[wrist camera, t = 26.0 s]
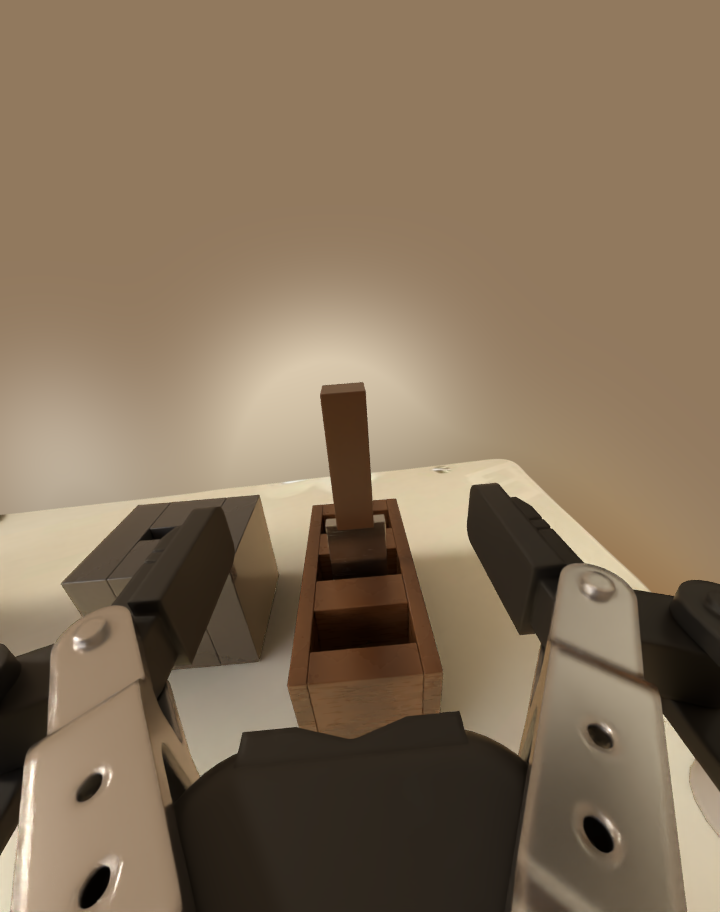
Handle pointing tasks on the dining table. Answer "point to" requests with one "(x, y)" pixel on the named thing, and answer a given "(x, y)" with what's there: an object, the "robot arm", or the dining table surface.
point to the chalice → (705, 795)
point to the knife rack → (362, 639)
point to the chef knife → (351, 486)
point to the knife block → (244, 593)
